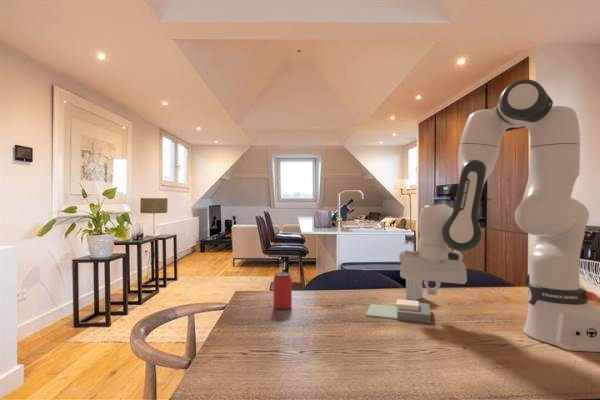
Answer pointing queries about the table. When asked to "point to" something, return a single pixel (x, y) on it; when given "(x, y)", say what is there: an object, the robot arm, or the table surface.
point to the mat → (382, 311)
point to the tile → (407, 304)
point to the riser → (416, 314)
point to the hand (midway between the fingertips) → (431, 294)
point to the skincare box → (414, 289)
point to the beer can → (282, 290)
